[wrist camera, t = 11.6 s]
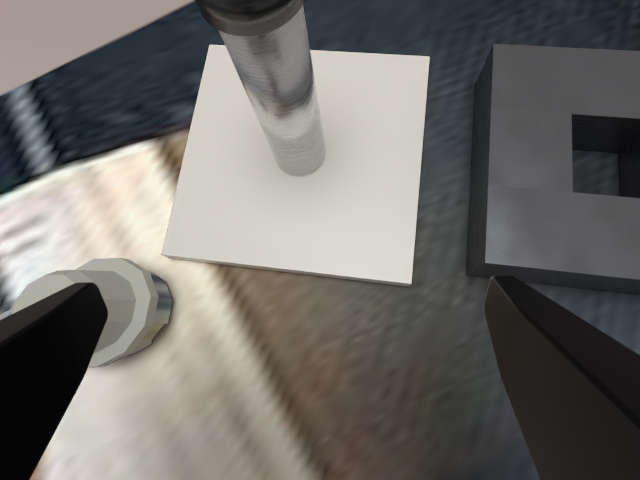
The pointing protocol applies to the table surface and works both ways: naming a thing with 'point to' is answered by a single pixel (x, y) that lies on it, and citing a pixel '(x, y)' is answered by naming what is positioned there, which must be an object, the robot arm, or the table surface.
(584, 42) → the table surface
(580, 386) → the robot arm
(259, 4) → the black knobbed metal rod
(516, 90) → the grey square frame block
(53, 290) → the grey rounded bar
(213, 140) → the pad
